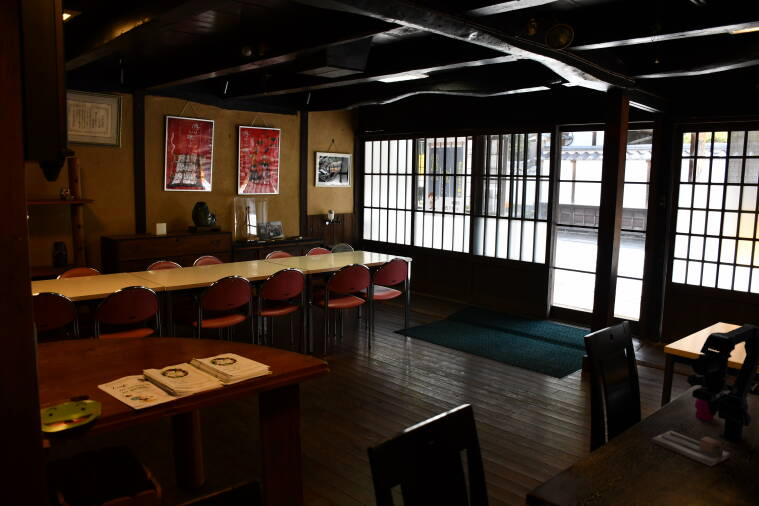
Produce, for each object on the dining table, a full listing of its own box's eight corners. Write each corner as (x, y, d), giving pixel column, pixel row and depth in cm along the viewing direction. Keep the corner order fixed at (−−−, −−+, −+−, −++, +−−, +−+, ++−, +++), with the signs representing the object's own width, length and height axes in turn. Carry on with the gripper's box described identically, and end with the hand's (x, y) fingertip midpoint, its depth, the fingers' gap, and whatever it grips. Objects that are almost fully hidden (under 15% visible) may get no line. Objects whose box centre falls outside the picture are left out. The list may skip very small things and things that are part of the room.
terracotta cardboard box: (705, 447, 197) (706, 436, 196) (717, 452, 193) (718, 441, 193) (699, 450, 194) (700, 439, 194) (711, 455, 191) (712, 443, 191)
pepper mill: (717, 422, 223) (723, 371, 220) (697, 419, 224) (702, 369, 222) (711, 414, 230) (716, 365, 228) (691, 412, 231) (696, 363, 229)
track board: (670, 434, 211) (672, 422, 210) (729, 457, 194) (730, 444, 194) (651, 442, 204) (652, 429, 203) (710, 466, 187) (712, 453, 187)
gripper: (707, 360, 211) (702, 402, 213) (678, 368, 200) (674, 412, 202) (740, 369, 202) (735, 412, 204) (712, 378, 191) (707, 424, 193)
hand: (712, 415), depth 201 cm, fingers closed
